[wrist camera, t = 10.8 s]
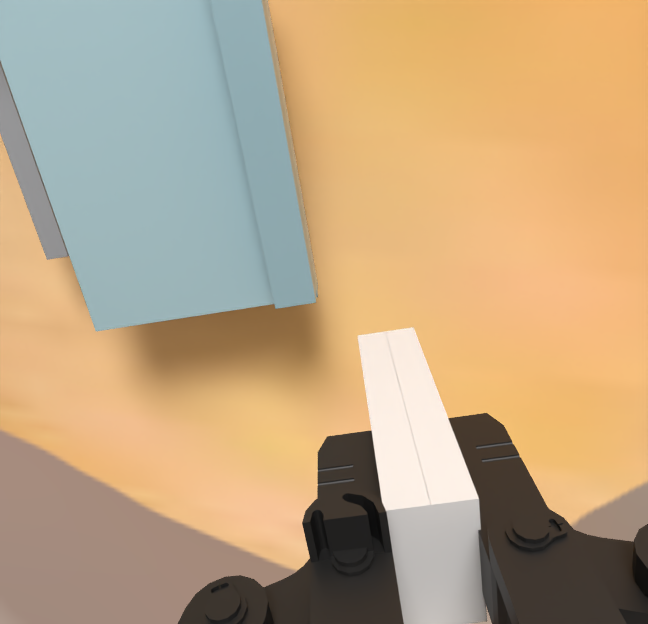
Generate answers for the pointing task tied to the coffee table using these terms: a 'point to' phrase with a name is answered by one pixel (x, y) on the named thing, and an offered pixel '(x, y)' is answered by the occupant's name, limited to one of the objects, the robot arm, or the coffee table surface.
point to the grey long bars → (28, 174)
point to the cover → (163, 153)
